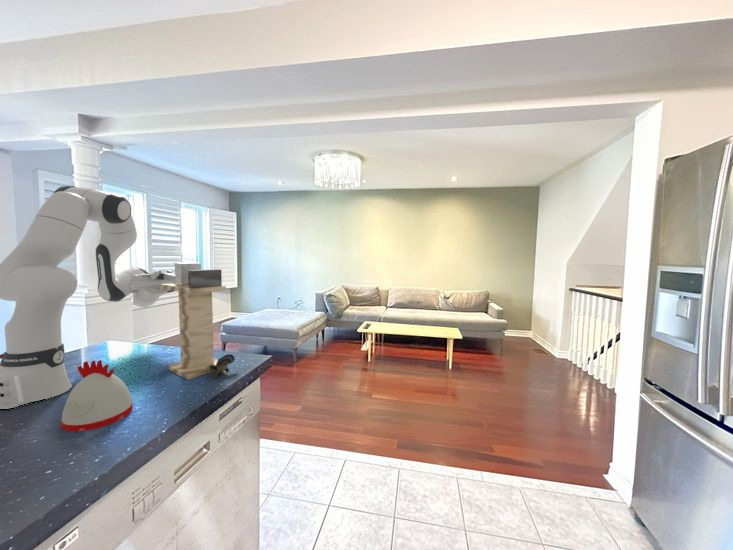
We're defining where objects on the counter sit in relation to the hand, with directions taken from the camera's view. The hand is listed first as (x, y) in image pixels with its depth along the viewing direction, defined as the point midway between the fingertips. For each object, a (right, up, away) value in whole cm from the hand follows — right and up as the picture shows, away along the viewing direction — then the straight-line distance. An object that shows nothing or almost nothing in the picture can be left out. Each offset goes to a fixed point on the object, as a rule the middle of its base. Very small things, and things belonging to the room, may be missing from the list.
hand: (165, 271), depth 123 cm
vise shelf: (+19, -36, -11) cm, 42 cm away
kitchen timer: (+13, -39, -45) cm, 60 cm away
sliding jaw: (+7, -4, -5) cm, 10 cm away
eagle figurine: (+32, -37, -17) cm, 51 cm away
